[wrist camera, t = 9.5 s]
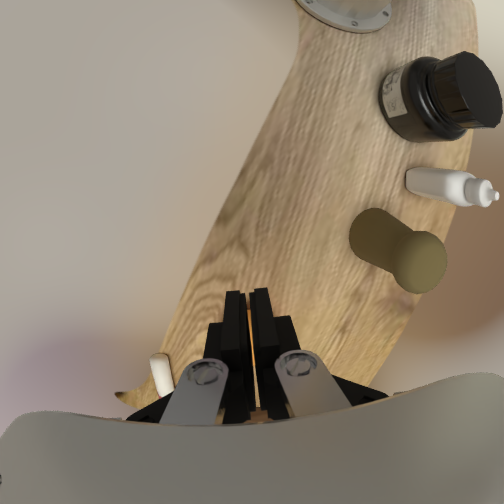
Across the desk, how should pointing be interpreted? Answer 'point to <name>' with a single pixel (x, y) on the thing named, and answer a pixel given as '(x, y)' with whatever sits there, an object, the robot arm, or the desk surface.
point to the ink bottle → (441, 98)
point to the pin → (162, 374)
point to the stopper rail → (259, 416)
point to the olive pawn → (399, 250)
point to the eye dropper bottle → (450, 186)
